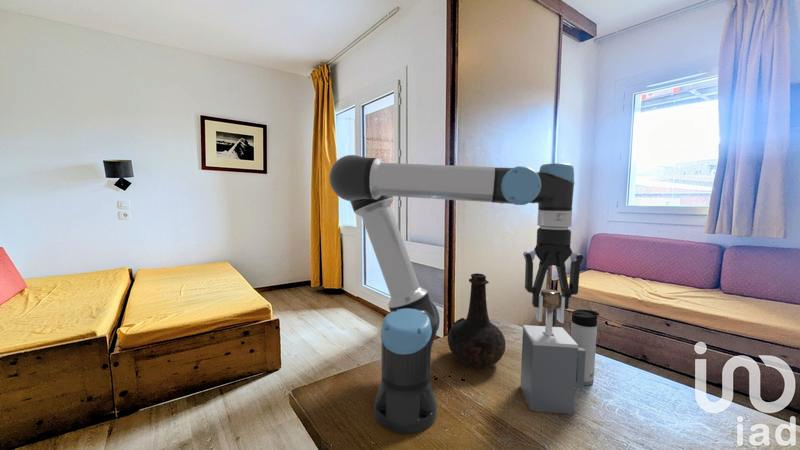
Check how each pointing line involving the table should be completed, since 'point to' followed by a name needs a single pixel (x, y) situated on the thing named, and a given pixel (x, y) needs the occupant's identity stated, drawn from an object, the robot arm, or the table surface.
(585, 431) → the table surface
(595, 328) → the travel mug
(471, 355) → the glass bottle
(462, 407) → the table surface
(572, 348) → the press
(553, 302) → the plunger
